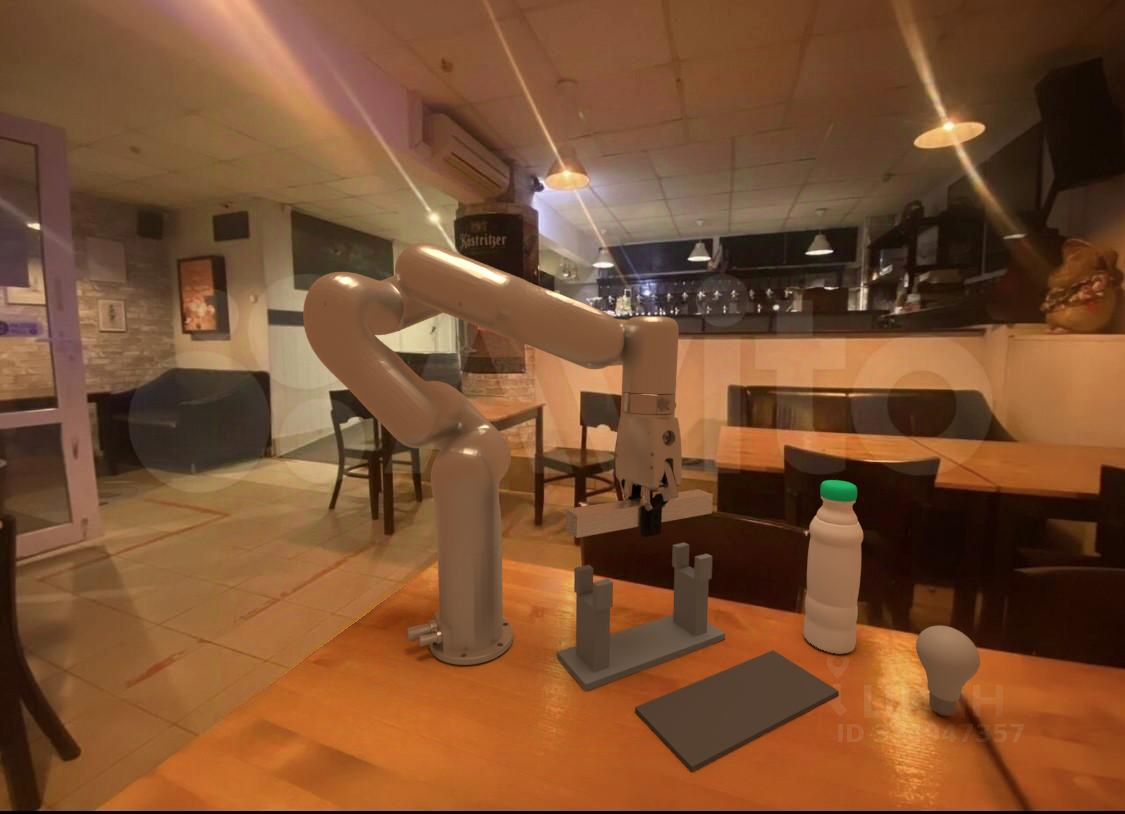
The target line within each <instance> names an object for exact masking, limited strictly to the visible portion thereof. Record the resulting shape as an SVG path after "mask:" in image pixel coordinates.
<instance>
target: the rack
mask: <svg viewBox="0 0 1125 814" xmlns="http://www.w3.org/2000/svg"><path fill="white" fill-rule="evenodd" d="M689 563H690V544H688V543H686V542H681V543H677V544H676V543H675V544H672V557H671V567H673V569H674V572H673V573H674V574H673V575H674V577H673V578H674V579H673V608H672V609H673V612H672V614H671V615H668V616H665V617H662V618H659V619H656V620H652V621H649V622H647V623H643V624H640V625H637V626H634V627H631V628H627V629H624V630H622V631H618V632H615V633H612V634H611V632H610V631H611V608H613V606H614V604H613V602H614V599H613V598H614V594H613V593H614V582H613V581H612V580H611V579H609V578H606V579H602V580H601V579H600V580H597V581H594V567H593V566H592V565H590V564H587V565H582V566H578V567H574V572H573V573H574V574H573V575H574V576H573V577H574V578H573V580H574V582H573V589H574V590H573V591H574V593H576V596H575V597H576V599H575V600H576V604H575V605H576V606H575V607H576V608H575V609H576V610H575V614H576V615H575V616H576V617H575V619H576V620H575V621H576V622H575V629H576V631H575V632H576V633H575V639H576V640H575V645H573V646H571V647H568V648H564V649H562V650H559V651H556V658H557V660H558V661H559V662H560V664H561V665H562V666H563V668H564V669H566V671H567V672H568V673H569V674H570V676H571V677H573V679H574V680H575V681H576V682H577V684H578V685H579V686H580V687H581V689H583V691H584V692H588V691H591V690H594V689H597V688H599V687H601V686H605V685H607V684H610V683H612V682H615V681H618V680H620V679H622V678H627V677H628V676H631V675H634V674H636V673H639V672H641V671H644V670H646V669H650V668H652V667H654V666H658V665H660V664H661V665H662V664H663V663H666V662H668V661H671V660H674V659H677V658H680V657H682V656H685V655H687V654H690V653H692V652H696V651H698V650H701V649H703V647H704V648H706V647H708V646H711V645H710V644H712V645H714V644H716V643H715V642H717V643H719V642H718V641H720V642H722V641H724V640H723V639H726V638H725V637H726V633H725V632H724V631H722V630H720V629H719V628H717V627H716V626H714V625H712V624H711V623H709V622H708V612H709V611H708V610H709V609H708V606H709V582H710V580H711V579H713V577H712V576H713V575H712V574H713V556H712V555H710V554H709V553H704V554H703V553H702V554H699V555H696V556H694V567H691V566H690V564H689ZM721 640H722V641H721ZM713 643H714V644H713ZM695 650H696V651H695Z"/></svg>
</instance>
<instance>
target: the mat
mask: <svg viewBox="0 0 1125 814" xmlns="http://www.w3.org/2000/svg"><path fill="white" fill-rule="evenodd" d="M839 693H840V692H839V690H838V689H837V688H835V687H833V686H832V685H830V684H828V683H827V682H825V681H823V680H822V679H820V678H819V677H817V676H815V675H814V674H812V673H811V672H809V671H808V670H807V669H804V668H803V667H801V666H800V665H798V664H796V663H795V662H793V661H792V660H791V659H788V658H787V657H785V656H783V655H782V654H780V653H779V652H777V651H775V650H774V649H773V650H770V651H768V652H765V653H763V654H760V655H758V656H756V657H753V658H750V659H748V660H746V661H744V662H741V663H738V664H737V665H734V666H731V667H728V668H726V669H724V670H721V671H720V672H716V673H714V674H713V675H710V676H707V677H705V678H703V679H700V680H698V681H695V682H692V683H691V684H687V685H686V686H683V687H681V688H678V689H676V690H673V691H671V692H668V693H666V694H664V695H662V696H659V697H657V698H654V699H652V700H649V701H646V702H644V703H642V704H638V706H635V707H634V713H635V714H637V715H638V717H639V718H640V719H641V720H642V721H643V722H644V723H645V725H647V726H648V727H649V728H650V730H652V732H653V733H654V734H655V735H656V736H657V737H658V738H659V739H660V740H661V741H662V742H663V743H664V744H665V746H667V748H668V749H669V750H670V751H671V752H672V753H673V754H674V755H675V756H676V758H678V759H679V760H680V761H681V762H682V764H683V765H685V767H686V768H687V769H688V770H689V771H690V772H691V773H693V772H695V771H697V770H699V769H701V768H702V767H704V766H706V765H708V764H710V763H712V762H714V761H716V760H718V759H720V758H721V757H724V756H725V755H727V754H730V753H731V752H733V751H734V750H737V749H739V748H741V747H742V746H744V745H746V744H748V743H750V742H752V741H754V740H756V739H758V738H760V737H762V736H764V735H765V734H767V733H769V732H771V731H774V730H775V729H777V728H778V727H780V726H782V725H784V724H787V723H788V722H790V721H792V720H794V719H796V718H798V717H800V716H801V715H803V714H805V713H808V712H810V711H811V710H813V709H815V708H817V707H819V706H821V705H822V704H825V703H826V701H827V702H829V701H831V700H832V699H834V698H836V697H838V696H839ZM824 702H825V703H824ZM818 705H819V706H818ZM816 706H817V707H816ZM814 707H815V708H814ZM810 709H811V710H810Z"/></svg>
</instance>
